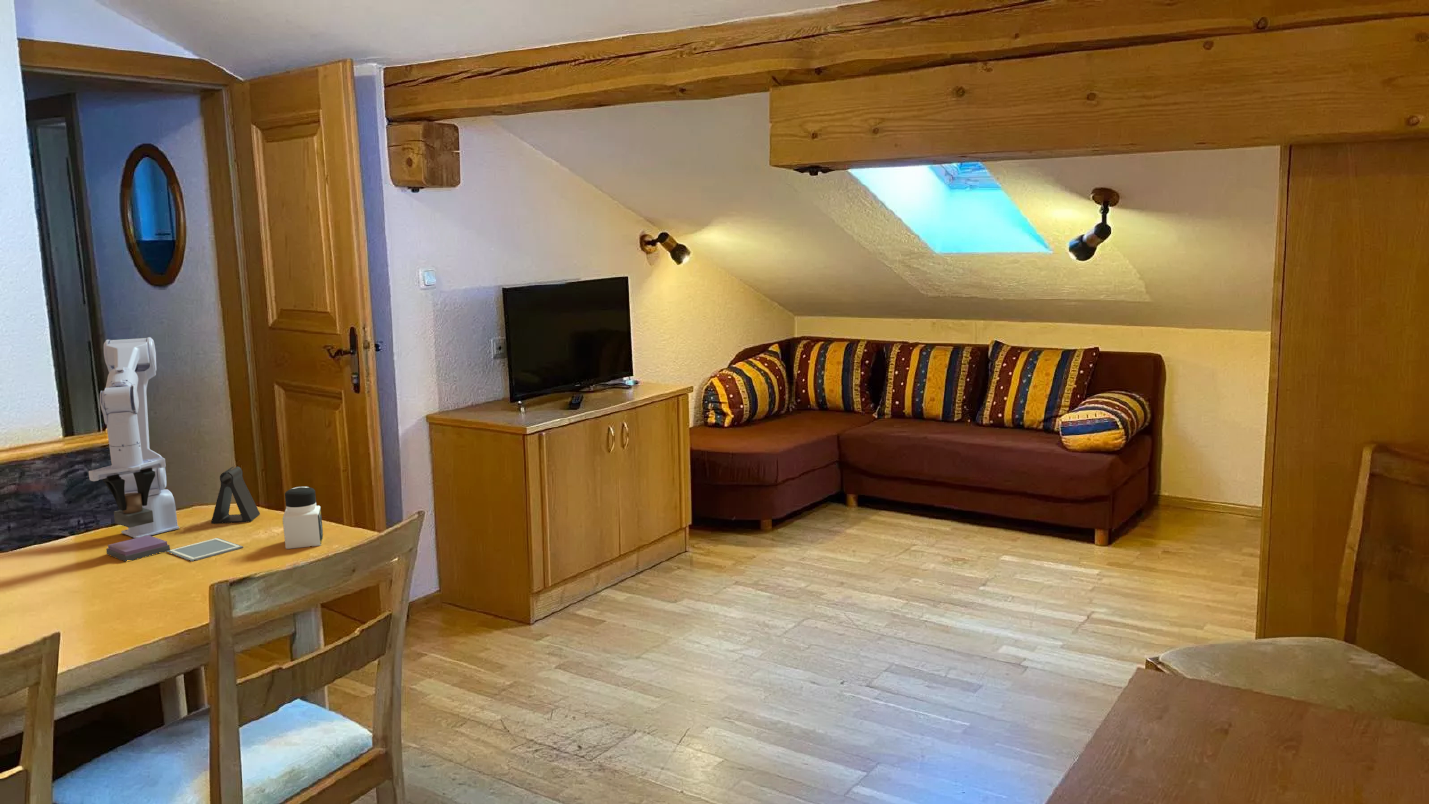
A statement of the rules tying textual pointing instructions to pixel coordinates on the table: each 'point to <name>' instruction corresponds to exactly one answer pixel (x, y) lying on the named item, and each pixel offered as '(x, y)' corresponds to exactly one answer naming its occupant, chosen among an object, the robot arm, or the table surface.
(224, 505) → the dark grey triangular stand
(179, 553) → the board
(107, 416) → the robot arm
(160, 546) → the ink pad
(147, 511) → the stamp
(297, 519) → the medicine bottle
